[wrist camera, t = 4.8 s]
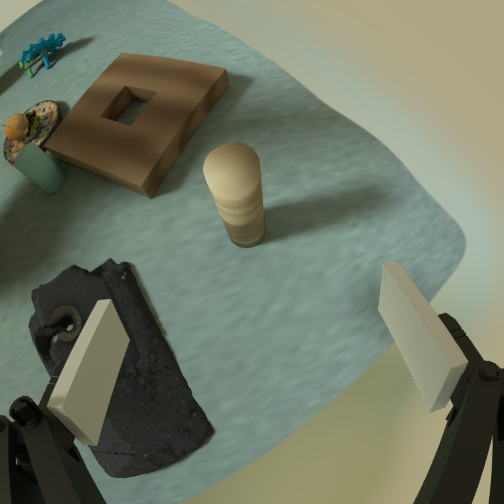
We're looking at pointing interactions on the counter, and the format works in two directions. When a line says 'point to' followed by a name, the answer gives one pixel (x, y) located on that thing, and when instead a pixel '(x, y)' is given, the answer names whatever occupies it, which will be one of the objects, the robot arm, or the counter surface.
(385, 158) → the counter surface
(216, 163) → the long maple pin
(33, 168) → the short teal pin
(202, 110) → the walnut hole board
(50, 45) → the gear
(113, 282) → the dark slate chunk
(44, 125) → the burger
